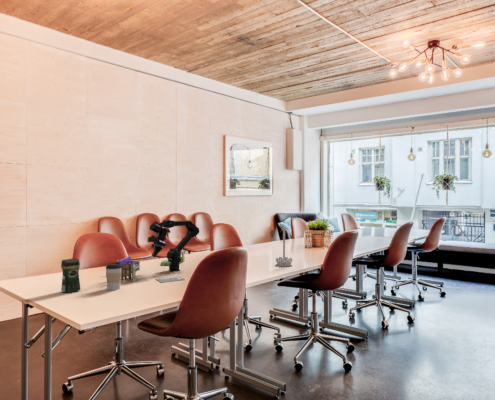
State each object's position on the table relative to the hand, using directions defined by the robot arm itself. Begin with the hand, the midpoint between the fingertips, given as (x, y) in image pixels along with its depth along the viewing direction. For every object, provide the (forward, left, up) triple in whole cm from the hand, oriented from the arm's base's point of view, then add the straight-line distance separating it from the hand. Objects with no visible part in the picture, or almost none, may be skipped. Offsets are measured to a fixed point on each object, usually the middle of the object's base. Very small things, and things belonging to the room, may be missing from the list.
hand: (153, 256), depth 265 cm
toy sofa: (+15, -16, -13) cm, 25 cm away
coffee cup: (+29, +30, -12) cm, 44 cm away
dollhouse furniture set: (-24, -39, -13) cm, 48 cm away
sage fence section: (+15, +11, -12) cm, 22 cm away
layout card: (-7, +20, -12) cm, 24 cm away
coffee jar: (+52, +26, -12) cm, 60 cm away
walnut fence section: (+22, +6, -12) cm, 26 cm away
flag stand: (-101, +6, -13) cm, 102 cm away
